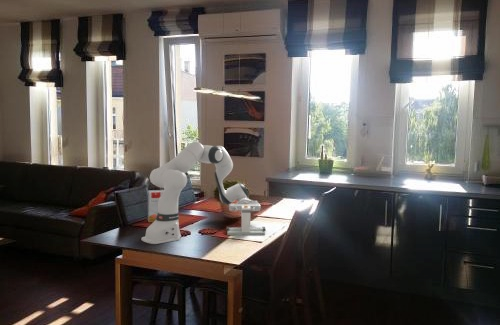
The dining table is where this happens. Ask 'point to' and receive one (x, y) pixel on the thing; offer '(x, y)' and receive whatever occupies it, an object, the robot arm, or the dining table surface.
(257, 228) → the rail
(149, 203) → the hard drive box
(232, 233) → the mounting board
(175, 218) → the robot arm
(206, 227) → the dining table surface
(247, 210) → the block
